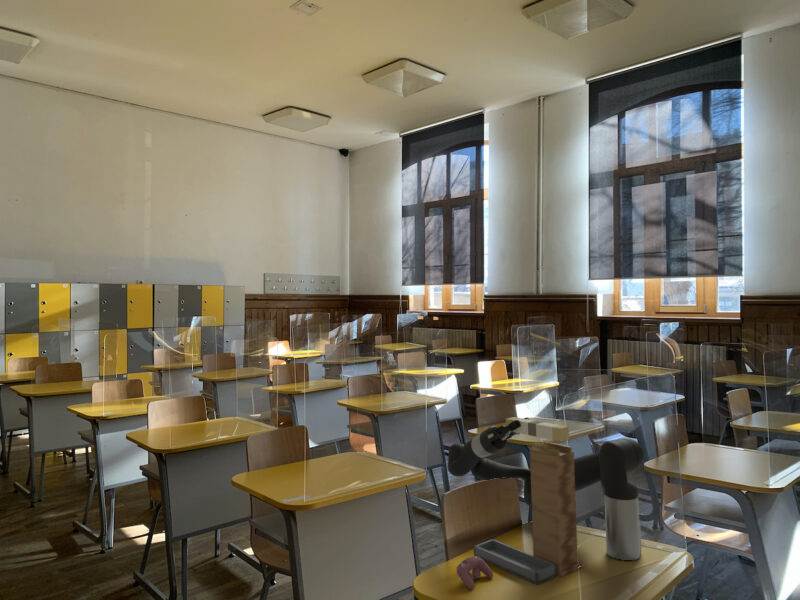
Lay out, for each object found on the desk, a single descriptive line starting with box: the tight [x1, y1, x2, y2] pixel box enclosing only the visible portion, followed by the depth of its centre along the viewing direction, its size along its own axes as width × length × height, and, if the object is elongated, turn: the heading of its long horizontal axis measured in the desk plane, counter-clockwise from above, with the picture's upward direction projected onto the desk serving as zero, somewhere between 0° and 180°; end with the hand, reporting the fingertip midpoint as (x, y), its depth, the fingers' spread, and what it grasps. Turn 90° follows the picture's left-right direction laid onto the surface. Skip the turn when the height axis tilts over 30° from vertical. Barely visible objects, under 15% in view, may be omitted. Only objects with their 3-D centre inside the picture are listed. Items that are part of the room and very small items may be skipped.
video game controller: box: [456, 556, 494, 590], centre depth 159 cm, size 10×5×7 cm, turn 135°
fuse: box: [505, 416, 570, 442], centre depth 170 cm, size 4×20×4 cm, turn 37°
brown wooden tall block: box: [529, 441, 583, 578], centre depth 166 cm, size 9×11×34 cm
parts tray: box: [473, 538, 558, 586], centre depth 167 cm, size 8×24×3 cm, turn 37°
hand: (523, 421), depth 174 cm, fingers closed on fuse, 3 cm apart
